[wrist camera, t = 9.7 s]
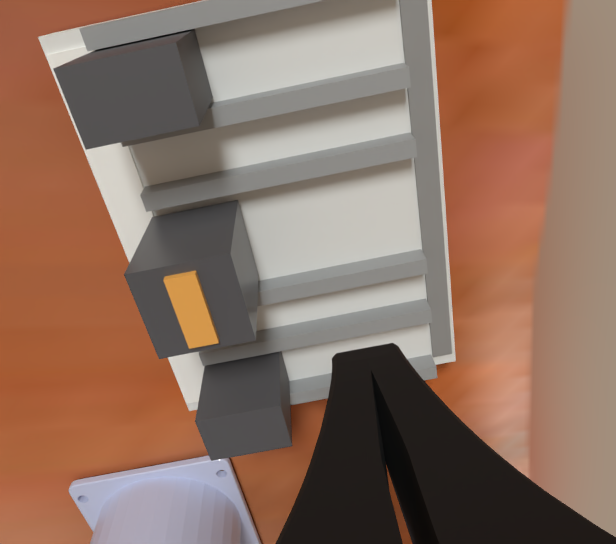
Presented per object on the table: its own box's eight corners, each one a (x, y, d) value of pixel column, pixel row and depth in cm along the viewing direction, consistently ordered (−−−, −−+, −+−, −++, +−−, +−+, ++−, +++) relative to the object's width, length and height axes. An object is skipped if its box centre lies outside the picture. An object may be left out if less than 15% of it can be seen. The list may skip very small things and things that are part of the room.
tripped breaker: (258, 275, 20) (255, 344, 16) (178, 290, 20) (157, 363, 16) (238, 199, 18) (229, 256, 14) (152, 217, 18) (122, 278, 15)
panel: (447, 343, 24) (485, 423, 19) (192, 391, 24) (176, 480, 20) (417, -47, 16) (469, -54, 12) (52, 33, 17) (-21, 52, 12)
